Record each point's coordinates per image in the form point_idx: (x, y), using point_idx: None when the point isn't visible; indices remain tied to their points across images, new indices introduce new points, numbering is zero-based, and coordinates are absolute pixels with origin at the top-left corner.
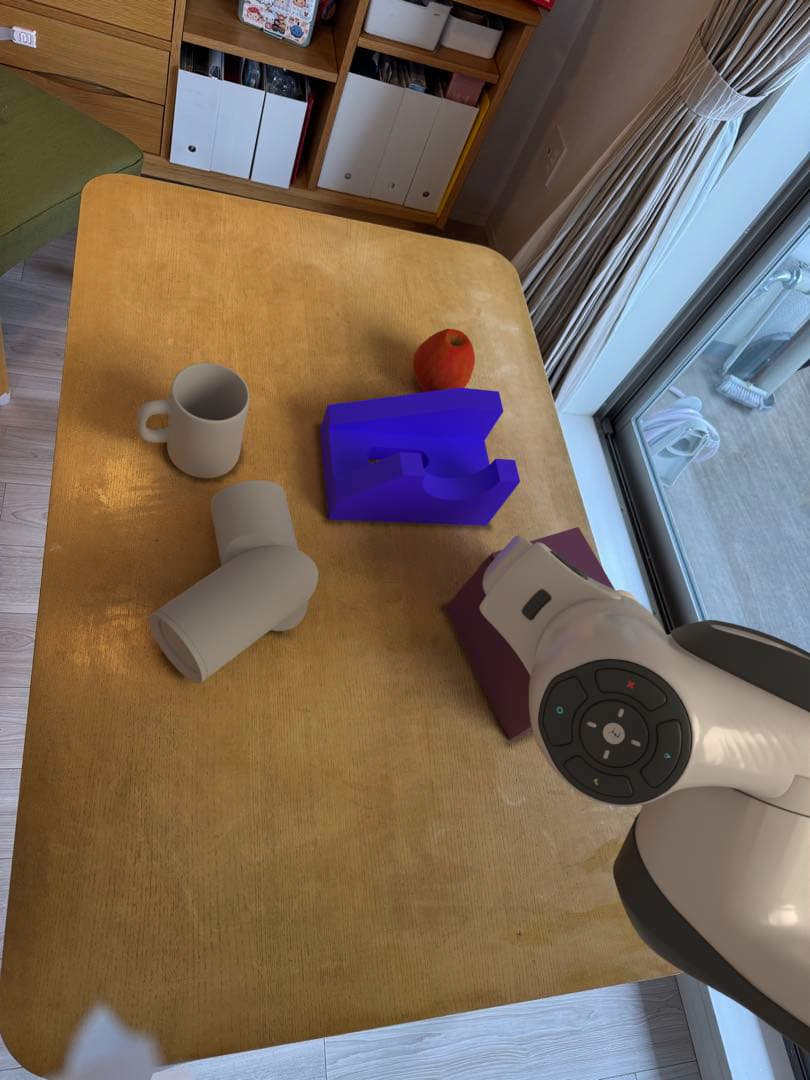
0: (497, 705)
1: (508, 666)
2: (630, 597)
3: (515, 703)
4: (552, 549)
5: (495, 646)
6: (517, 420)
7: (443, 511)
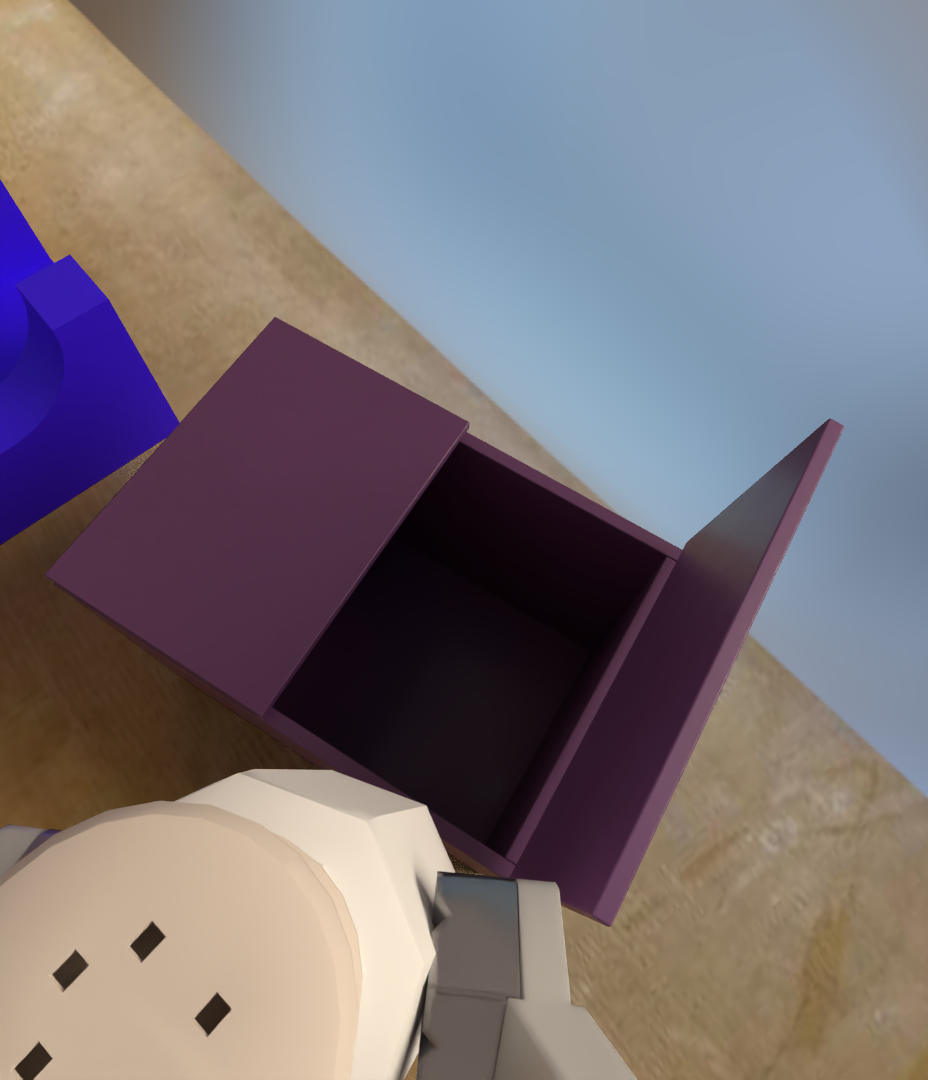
0: None
1: None
2: (148, 885)
3: None
4: (230, 431)
5: (288, 744)
6: (138, 174)
7: (39, 475)
